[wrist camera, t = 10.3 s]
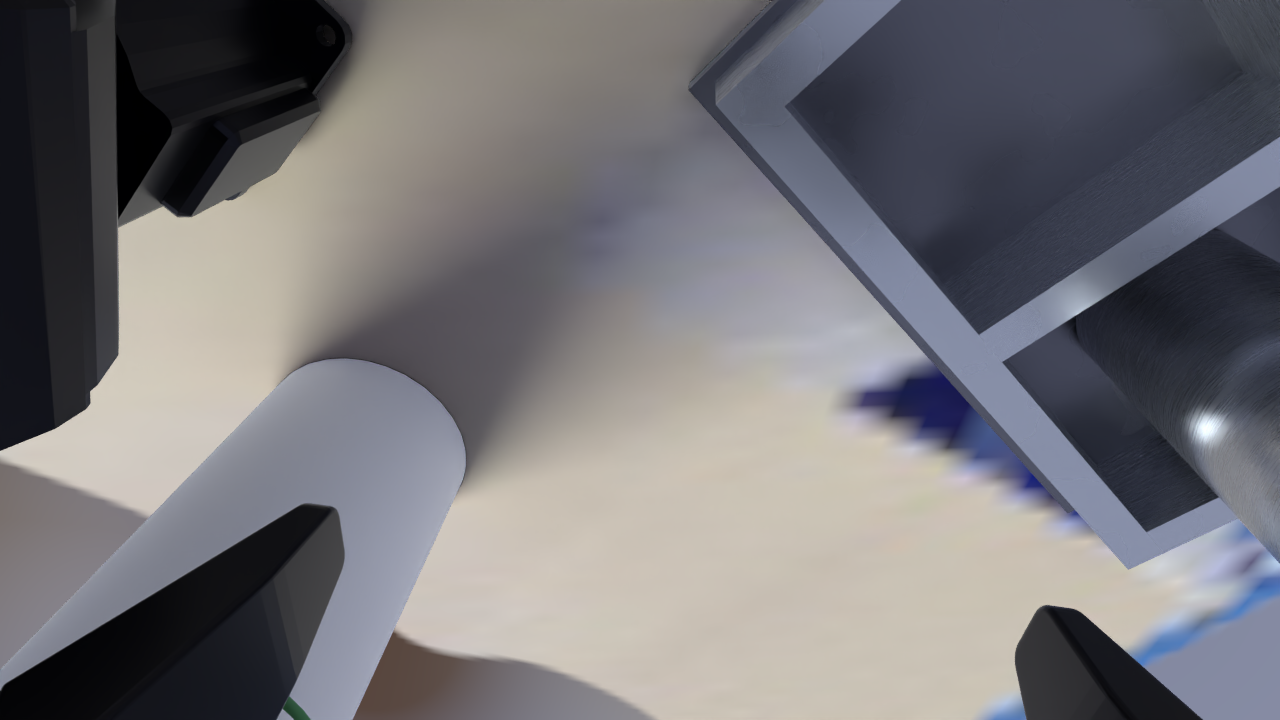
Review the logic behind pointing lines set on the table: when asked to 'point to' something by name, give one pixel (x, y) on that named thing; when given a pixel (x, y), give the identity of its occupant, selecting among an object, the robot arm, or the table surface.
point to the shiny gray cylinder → (1204, 367)
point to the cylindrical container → (277, 483)
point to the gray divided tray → (1022, 197)
